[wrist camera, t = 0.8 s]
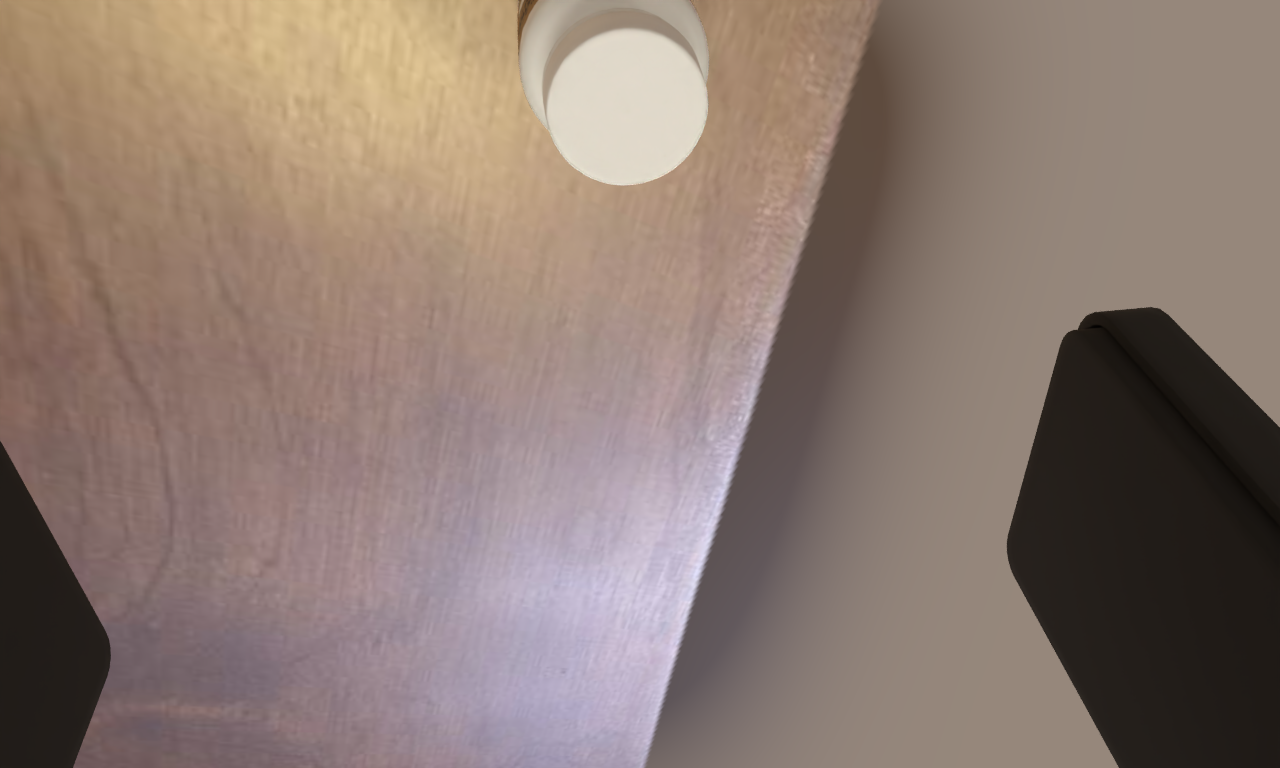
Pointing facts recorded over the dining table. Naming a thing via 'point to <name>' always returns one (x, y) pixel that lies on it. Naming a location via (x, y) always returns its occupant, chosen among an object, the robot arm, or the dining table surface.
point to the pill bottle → (616, 82)
